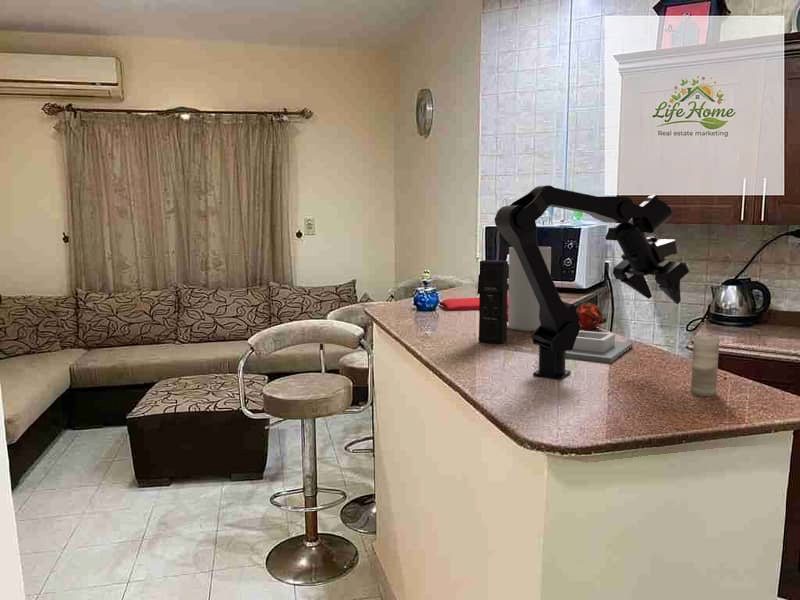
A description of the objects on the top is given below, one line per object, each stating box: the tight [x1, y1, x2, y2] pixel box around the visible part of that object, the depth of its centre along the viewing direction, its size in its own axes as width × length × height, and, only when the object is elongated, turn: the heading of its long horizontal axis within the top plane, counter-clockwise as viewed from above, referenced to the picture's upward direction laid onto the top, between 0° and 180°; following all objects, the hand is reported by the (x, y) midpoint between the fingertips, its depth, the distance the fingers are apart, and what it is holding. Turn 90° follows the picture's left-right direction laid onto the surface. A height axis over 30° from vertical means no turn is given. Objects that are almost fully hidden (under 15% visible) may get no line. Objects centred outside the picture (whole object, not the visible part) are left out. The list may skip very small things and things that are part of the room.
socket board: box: [566, 330, 634, 364], centre depth 156 cm, size 20×16×4 cm
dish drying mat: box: [438, 295, 509, 312], centre depth 234 cm, size 16×41×4 cm, turn 99°
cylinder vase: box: [507, 245, 552, 332], centre depth 187 cm, size 12×12×25 cm
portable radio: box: [477, 251, 509, 345], centre depth 168 cm, size 8×6×25 cm
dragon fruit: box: [576, 302, 607, 331], centre depth 186 cm, size 8×8×12 cm
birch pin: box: [690, 335, 720, 397], centre depth 118 cm, size 4×4×11 cm
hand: (664, 300), depth 141 cm, fingers open, 9 cm apart
